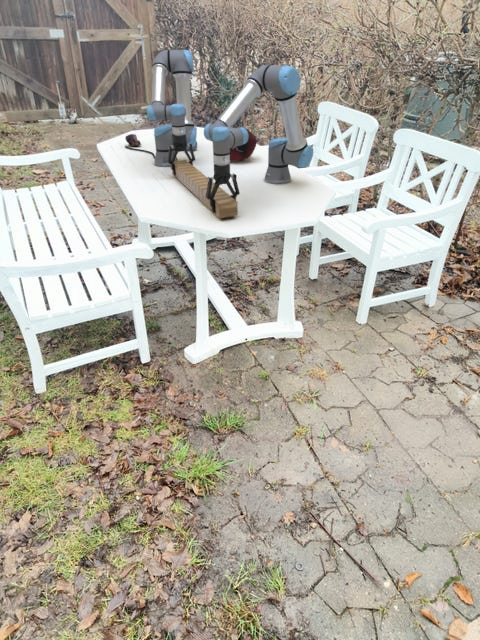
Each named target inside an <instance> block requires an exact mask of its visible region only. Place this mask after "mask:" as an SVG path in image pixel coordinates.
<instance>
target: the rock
mask: <svg viewBox="0 0 480 640" xmlns="http://www.w3.org/2000/svg"><path fill="white" fill-rule="evenodd" d="M125 141H126V143H127V144H128V145H129V147H139V146H141V145H142V143H141V141H140V140H139V139H138V137H137V134H134V133H130V134H127V135H125Z"/></svg>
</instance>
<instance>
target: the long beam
mask: <svg viewBox="0 0 480 640" xmlns="http://www.w3.org/2000/svg"><path fill="white" fill-rule="evenodd" d="M174 164H175V172H176V176H175V177H176V179H178V180H179V182H181V183H182V184H183V185H184V186H185V187H186V188H187V189H188V190H189V191H190V192H191V193H192V194H193V195H194V196H195V197H197V198H198V199H199V200H200V201H201V202H202V203H203V204H204V205H205V206H206V207H207V208H208V209H209V210H210V211H211V212H212V206H210V199H207V198H206V191H207V186H208V177H209V176H207V175H206V174H204V173H203V172H201V170H199V169H198V168H197V167H195V165H194V164H193V165H191V164H190V163H189V162H188V160H186V159H180V160H178V161H174ZM171 174H172V175H173V170H172V169H171ZM214 183H215V181H213V182H212V188H211V192H212V189H213V187H214ZM214 200H215V213H214V215H215V216H216V217H217V218H219V219H226V218H231V217H236V216H239V215H238V213H239V211H238V200H237V199H236V200H235V199H234V198H232V197H231V195H230V194H229V193H228V192H226V191H225V190H224V189H222V188H221V187H220V186H219V187H218V189H217V192H216V194H215V196H214Z"/></svg>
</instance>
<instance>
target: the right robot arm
mask: <svg viewBox="0 0 480 640" xmlns="http://www.w3.org/2000/svg"><path fill="white" fill-rule="evenodd" d="M243 84H244V85H243V87H242V88H241V89H240V90H239V92H238V93H237V94H236V95H235V96H234V97H233V99H232V100H231V101H230V102H229V104H228V105H227V107H225V109H224V110H223V112H222V113H221V114H220V115H219V116H218V117H217V119H216V120H215V121H214V123H207V124H206V125H205V126H204V128H203V136H204V138H205V139H206V140H207V141H208V142H209V141H210V142H212V157H213V158H212V159H213V175H212V176H207V177H208V186H207V191H206V198H207V199H210V206H212V211H211V212H212V213H213V214H215V200H214V196H215V194H216V192H217V189H218V187H220V186H221V185H226V186H227V187H228V190H229V192H230V193H231V195H230V196H231V197H232V198H234V199H235V200H236V201H237V197H238V195H240V194H241V193H240V189H239V184H238V181H237V178H238V177H237V176H238V175H237V174H235V173H234V172H233V173H231V164H230V163H231V161H230V148H232V147H236V146H241V145H243V144H245V143H246V142H247V141H248V137H249V136H248V132H247V130H246V129H245V128H246V127H244V128H243V126H237V127H238V128H234V127H233V126H234V125H235V124H236V123H237V121H238V120H239V119H240V118H241V116H243V114H244V113H245V111H246V110H247V109H248V107H250V105H251V103H253V101H254V100H255V99H256V98H259V97H260V96H261V95H262V94H263V93H265V92H266V93H267V92H268V93H272V94H273V98H274V100H275V101H276V102H277V103H278V106H279V107H278V108H279V111H280V115H281V119H282V124H283V129H284V132H285V137H277V138H273V139H270V140H269V142H268V148H267V149H268V152H267V153H268V157H267V159H268V161H267V162H268V163H267V168H266V171H265V175H264V181H265V182H266V183H268V184H273V185H280V184H281V185H283V184H288V183H290V182H291V180H292V177H291V172H290V168H289V166H292V167H297V168H307V167H308V166H309V165H310V164H311V162H312V160H313V157H314V148H313V146H311V145H309V144H308V140H307V138H306V137H305V136H304V134H303V129H302V125H301V118H300V114H299V109H298V108H299V107H298V104H297V98H296V96H297V95H298V92H299V90H300V87H301V85H300V84H301V75H300V72H299V71H298V68H296V67H294V66H290V65H278V64H264V65H262V66H260V67H258V68H257V69H256V70H255V71H253V72H252V73H251V74H250V75H249V76H248V77H247V78H246V80H245V81H244V83H243ZM239 127H240V128H239ZM230 179H231V180H232V184H233V186H232V184H231V182H230ZM212 182H214V187H213V189H212V192H211V188H212Z"/></svg>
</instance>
